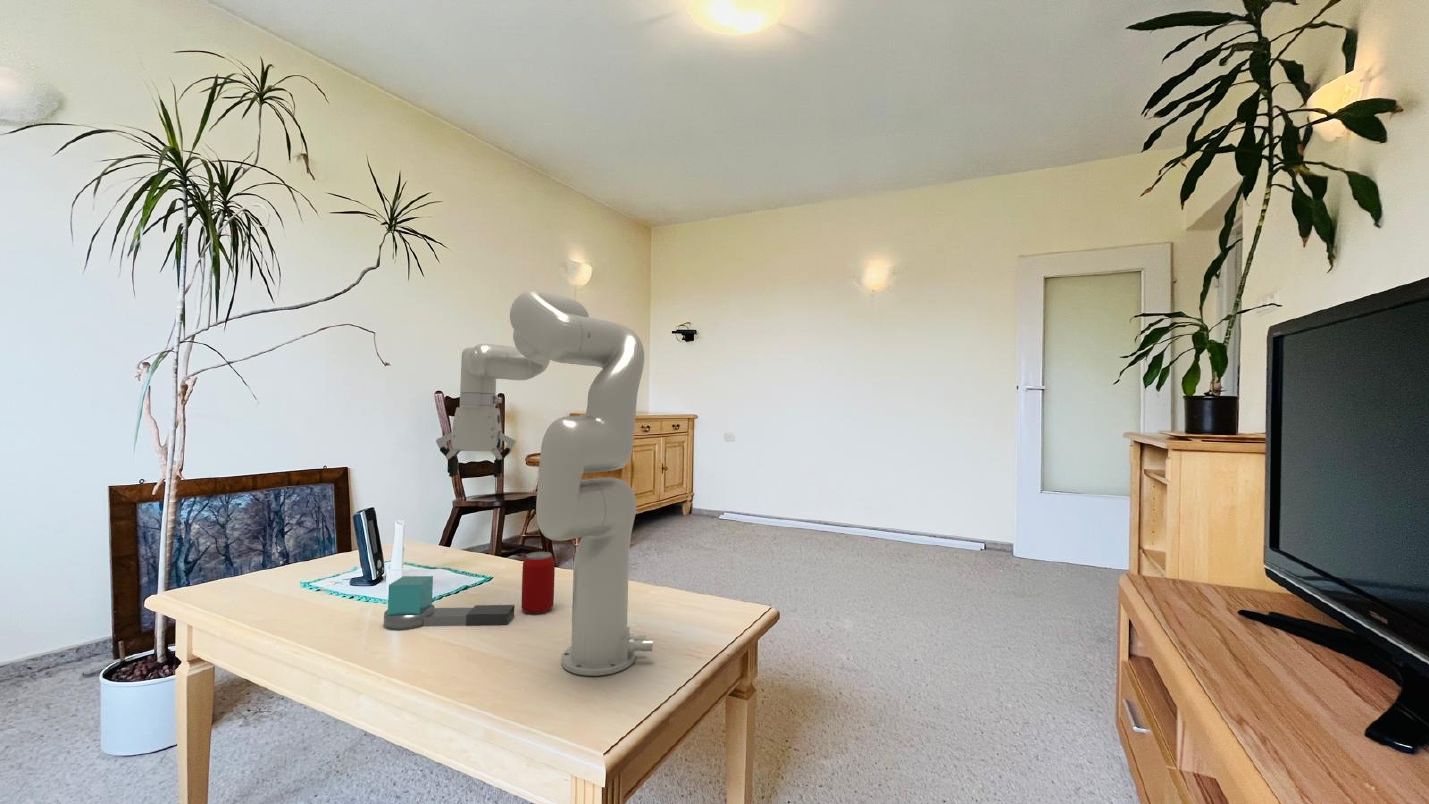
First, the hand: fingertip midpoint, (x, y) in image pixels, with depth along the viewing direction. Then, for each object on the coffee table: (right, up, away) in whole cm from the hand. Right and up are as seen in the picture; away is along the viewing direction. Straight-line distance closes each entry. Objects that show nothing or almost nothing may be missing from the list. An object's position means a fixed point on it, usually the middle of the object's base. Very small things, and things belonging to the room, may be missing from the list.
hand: (475, 476), depth 125 cm
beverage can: (+16, -29, -5) cm, 33 cm away
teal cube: (-7, -25, -14) cm, 30 cm away
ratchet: (0, -28, -13) cm, 31 cm away
